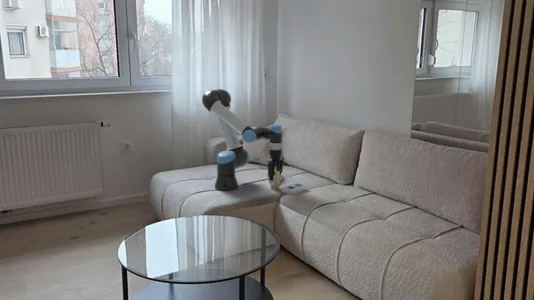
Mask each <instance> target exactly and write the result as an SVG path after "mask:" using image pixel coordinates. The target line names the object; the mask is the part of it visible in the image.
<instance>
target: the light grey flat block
mask: <svg viewBox="0 0 534 300" xmlns="http://www.w3.org/2000/svg"><path fill="white" fill-rule="evenodd" d="M307 190H308V185H307V184H302V183H300V182H294V183H292V184H288V185H286V186H282V187H281V193H283V194H286V195H290V196H295V195H297V194H299V193H302V192H305V191H307Z"/></svg>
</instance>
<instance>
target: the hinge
mask: <svg viewBox="0 0 534 300" xmlns="http://www.w3.org/2000/svg"><path fill="white" fill-rule="evenodd" d="M275 170H276V166H275ZM266 175H267V179H268V182H269V184H270V185H271V179H270V178H271V176H270V175H268V172H266ZM283 179H284V175H283V174H282V173H281V174H280V182H281V181H282V180H283Z"/></svg>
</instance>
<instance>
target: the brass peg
mask: <svg viewBox="0 0 534 300" xmlns="http://www.w3.org/2000/svg"><path fill="white" fill-rule="evenodd" d="M274 175H275V185H271V184H270V189H271V190H274V191H277V190H280V188H281V187H280V182H281V181H280V171H278V170H275V171H274Z"/></svg>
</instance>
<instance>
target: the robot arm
mask: <svg viewBox="0 0 534 300" xmlns="http://www.w3.org/2000/svg"><path fill="white" fill-rule="evenodd" d="M201 101H202V105H203V107H204V108H205V109H206V110H207V111H208V112H210V113H211V114H215V115H216V116H217V118H218V121H219V124H220V125H219V126H220V127H221V130H222V133H223V134H222V135H223V138H224V141H225V145H226V150H223V151H220V152H219V153H218V154H217V156H216V166H217V167H216V174H217V175H216V181H215V183H214V188H215V190H218V191H223V192H227V191H234V190H237V189H238V188H239V183H238V180H237V177H236V170H237V169H239V168H242V167H243V166H245V165H247V163H248V162H249V160H250V155H249V154H250V153H249V152H248V151H247V150H246V149H245V148H244V145H243V144H240V141H239V137H238V134H240V135H241V136H242V140H243V141H244V142H246V143H247V144H249V143H254V142H256V141H260V140H263V139H264V140H269V156H270V157H269V159H267V160H266V163H267V173H268V175H270V176H271V178H270V179H271V184H270V186H271V185H275V175H274V171H275V167H276V170H278V171H280V174H281V175H282V173H283V169H284V157H282V133H283V131H282V129H283V128H282V125H280V124H275V123H274V124H270V125H269V127H266V126H259V125H258V126H254V127H253V128H252V126H250V125H249V124H248V123H246V122H245V121H244V120H242V119H241V118H240V117H239V116H237V115H236V114H235V113H233V112H232V111H231V110H230V109H231V101H232V96H231V94H230V93H229V92H228V90H226V89H221V88H220V89H219V88H218V89H213V90H212V89H211V90H207V91H206V92H204V93H203V94H202V97H201ZM237 133H238V134H237Z"/></svg>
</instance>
